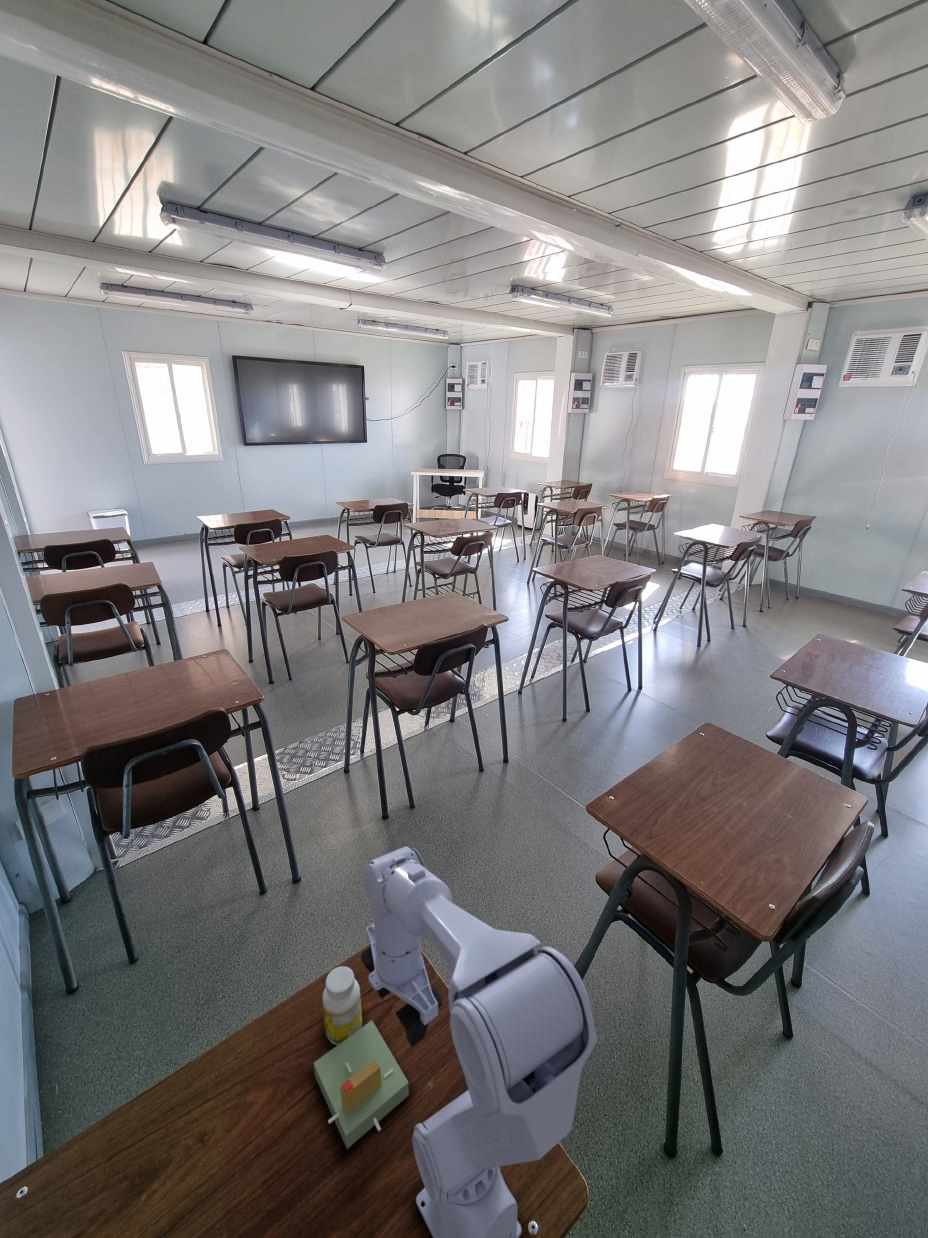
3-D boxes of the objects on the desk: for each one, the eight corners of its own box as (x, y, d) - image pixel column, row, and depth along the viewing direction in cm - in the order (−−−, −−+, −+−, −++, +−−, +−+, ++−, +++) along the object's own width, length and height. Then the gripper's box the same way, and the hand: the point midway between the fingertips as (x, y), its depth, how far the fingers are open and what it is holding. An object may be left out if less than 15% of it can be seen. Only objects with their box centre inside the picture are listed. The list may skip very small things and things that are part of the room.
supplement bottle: (362, 1043, 73) (358, 994, 70) (324, 1050, 72) (319, 1001, 69) (362, 1006, 78) (359, 959, 75) (327, 1012, 77) (322, 965, 75)
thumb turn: (376, 1077, 67) (375, 1057, 66) (381, 1086, 66) (380, 1066, 65) (341, 1105, 64) (340, 1084, 63) (346, 1114, 63) (344, 1094, 62)
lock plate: (417, 1110, 66) (417, 1096, 65) (346, 1175, 60) (345, 1160, 59) (372, 1032, 75) (371, 1019, 74) (306, 1081, 69) (305, 1068, 68)
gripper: (343, 914, 66) (349, 991, 70) (401, 1002, 55) (404, 1087, 59) (389, 888, 70) (393, 961, 74) (452, 965, 59) (452, 1046, 63)
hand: (401, 1015), depth 67 cm, fingers open, 7 cm apart
